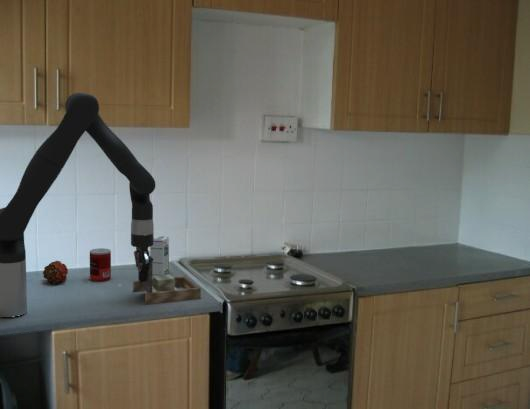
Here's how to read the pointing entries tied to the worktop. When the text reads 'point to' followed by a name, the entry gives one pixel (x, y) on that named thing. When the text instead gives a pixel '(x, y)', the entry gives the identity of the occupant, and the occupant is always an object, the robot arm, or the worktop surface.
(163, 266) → the syrup box
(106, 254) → the canned food
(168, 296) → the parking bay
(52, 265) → the dragon fruit
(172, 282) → the grey l-shaped piece
